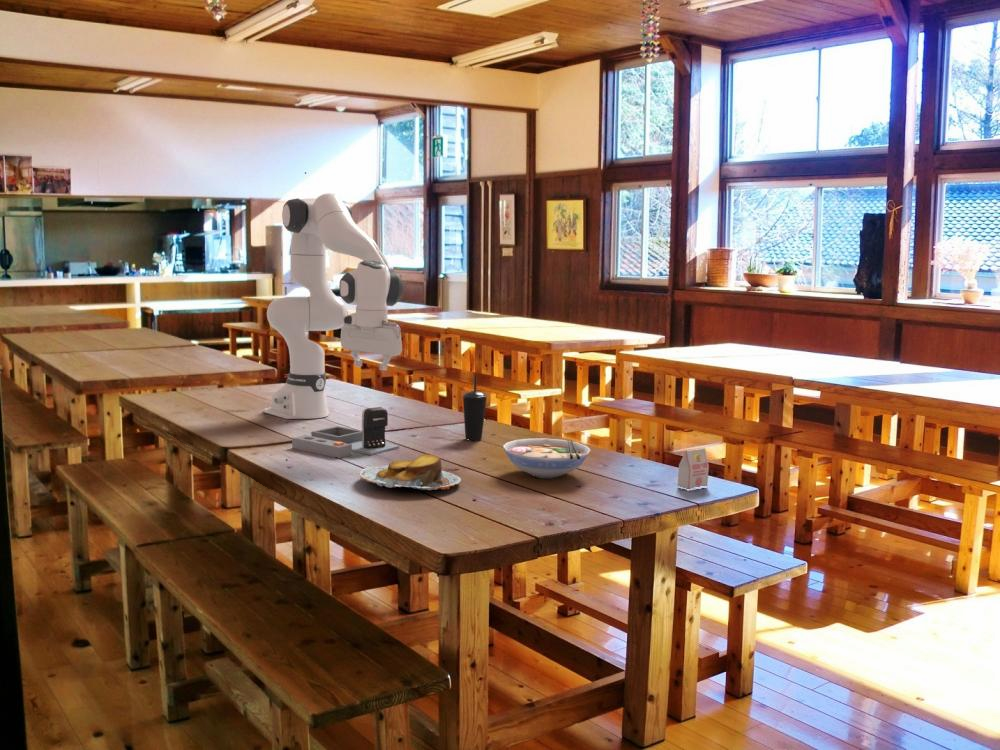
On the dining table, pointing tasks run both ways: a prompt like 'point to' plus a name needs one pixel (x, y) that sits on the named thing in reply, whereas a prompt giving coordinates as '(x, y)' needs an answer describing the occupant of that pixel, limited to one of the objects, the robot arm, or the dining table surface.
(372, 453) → the slate mat
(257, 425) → the dining table surface
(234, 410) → the dining table surface
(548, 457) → the ramen bowl
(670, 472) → the dining table surface
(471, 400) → the drinking cup
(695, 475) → the white milk carton
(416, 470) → the food on plate
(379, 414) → the battery charger
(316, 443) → the charging station
